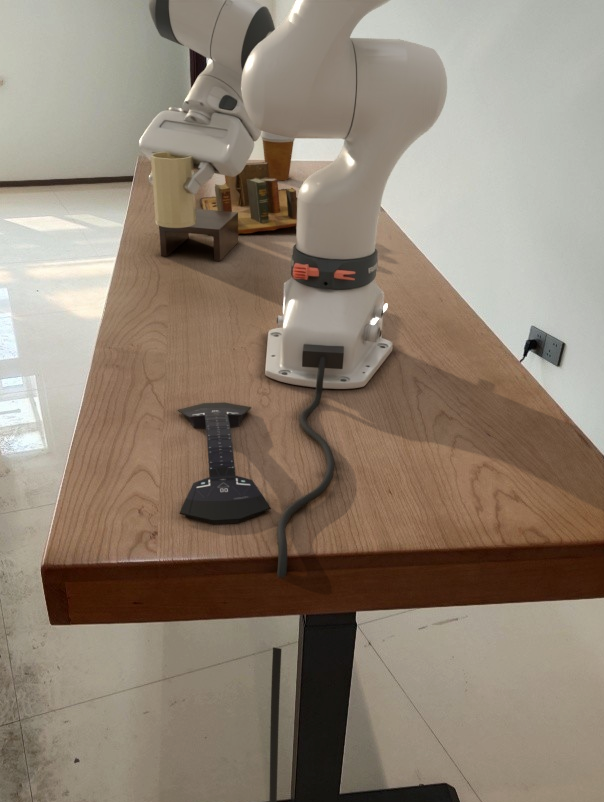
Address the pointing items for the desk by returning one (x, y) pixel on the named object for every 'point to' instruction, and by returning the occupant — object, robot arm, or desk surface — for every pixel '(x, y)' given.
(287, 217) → the book stand
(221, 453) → the dark piece
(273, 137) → the disposable coffee cup
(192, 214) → the cup
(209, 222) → the dark grey toy chair
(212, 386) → the desk surface
